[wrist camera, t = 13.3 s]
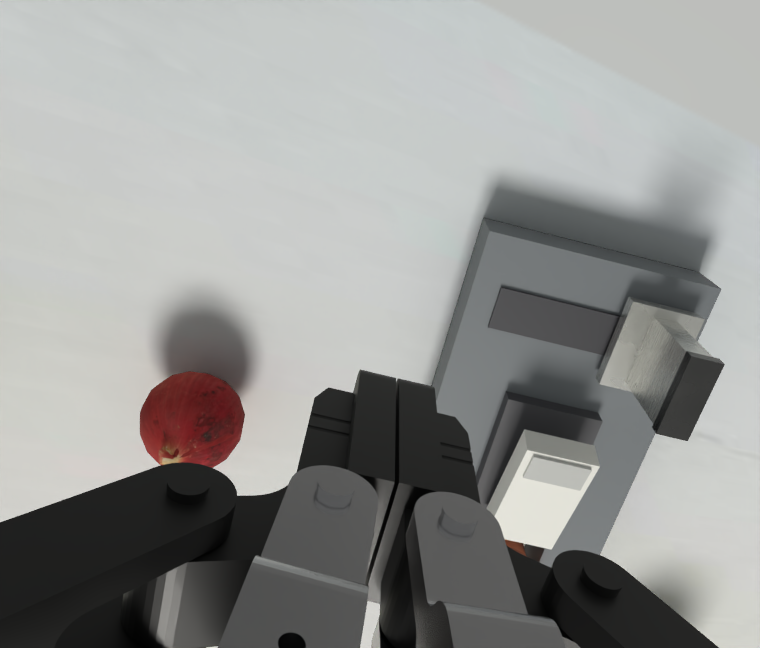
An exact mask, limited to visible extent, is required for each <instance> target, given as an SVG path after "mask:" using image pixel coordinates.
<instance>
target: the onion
mask: <svg viewBox="0 0 760 648" xmlns="http://www.w3.org/2000/svg"><path fill="white" fill-rule="evenodd" d="M244 417H245V414H244V410H243V407H242V404H241V401H240V397H239V396H238V394H237V393H236V392H235V391H234V390H233V389H232V388H231V387H230V386H229V385H228V384H227V383H226V382H225V381H223V380H221V379H219V378H217V377H214V376H212V375H210V374H206V373H199V372H191V371H189V372H184V373H180V374H175V375H172V376H170V377H169V378H167V379H166V380H164V381H163V382H161V383H160V384H159V385H157V386H156V387H155V388H154V389H152V390H151V392H150V393H149V395H148V397H147V399H146V401H145V402H144V404H143V406H142V409H141V412H140V435H141V438H142V440H143V443H144V445H145V448H146V450H147V452H148V453H149V454H150V455H151V456H152V457H153V458H154V459H155V460H156V461H157V462H158V463H159V464H160V465H165V464H170V463H180V462H185V463H195V464H201V465H205V466H208V467H211V468H213V467H214V466H216V465H218V464H220V463H221V462H223V461H224V460H226V459H227V457H228V456H229V455H230V453H231V452H232V451H233V449H234V448H235V447H236V445H237V444H238V442H239V441H240V438H241V433H242V428H243V423H244Z"/></svg>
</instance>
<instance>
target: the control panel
mask: <svg viewBox="0 0 760 648" xmlns="http://www.w3.org/2000/svg"><path fill="white" fill-rule="evenodd" d="M720 291H721V288H719V287H718V286H717V285H715V284H714V283H713V282H711V281H710V280H709V279H707V278H706V277H705V276H703V275H702V274H701V273H700V272H696V271H692V270H688V269H684V268H680V267H676V266H672V265H669V264H665V263H661V262H657V261H653V260H649V259H645V258H641V257H637V256H633V255H629V254H625V253H621V252H617V251H613V250H609V249H605V248H601V247H597V246H593V245H589V244H585V243H581V242H577V241H573V240H569V239H565V238H561V237H557V236H553V235H549V234H546V233H542V232H538V231H534V230H530V229H526V228H522V227H518V226H514V225H510V224H506V223H502V222H498V221H494V220H490V219H486V218H483V221H482V224H481V227H480V230H479V234H478V237H477V240H476V243H475V247H474V250H473V253H472V256H471V260H470V263H469V266H468V269H467V273H466V276H465V279H464V282H463V286H462V289H461V292H460V295H459V299H458V302H457V305H456V308H455V312H454V315H453V318H452V321H451V324H450V328H449V331H448V334H447V337H446V341H445V344H444V347H443V350H442V354H441V357H440V360H439V363H438V367H437V370H436V373H435V376H434V380H433V383H432V387H434V388H435V395H436V405H437V413H441V414H445V415H449V416H454V417H456V418H457V420H458V421H459V422H460V423H461V425H462V426H463V427H464V429H465V430H466V431H467V432H468V435H469V441H470V447H471V451H470V452H472V458H473V466H474V469H475V475H476V481H477V487H478V492H479V498H480V504H481V505H482V506H484V507H485V508H487V506H488V504H489V502H490V500H491V498H492V496H493V494H494V492H495V489H496V487H497V485H498V483H499V481H500V479H501V477H502V475H503V473H504V471H505V469H506V467H507V464H508V462H509V460H510V458H511V456H512V454H513V452H514V450H515V448H516V446H517V444H518V441H519V439H520V437H521V435H522V433H523V431H524V429H525V430H530V431H534V432H538V433H543V434H547V435H551V436H555V437H560V438H564V439H568V440H573V441H577V442H581V443H586V444H590V445H594V446H595V449H596V453H597V457H598V461H599V465H600V468H599V469H598V471H597V473H596V474H595V476H594V478H593V480H592V481H591V483H590V485H589V486H588V488H587V490H586V492H585V493H584V495H583V497H582V498H581V500H580V502H579V503H578V505H577V507H576V509H575V510H574V512H573V514H572V515H571V517H570V519H569V521H568V522H567V524H566V526H565V527H564V529H563V531H562V532H561V534H560V536H559V538H558V539H557V541H556V543H555V544H554V546H553V548H552V550H551V549H546V548H542V547H537V546H533V545H528V544H526V545H525V548H524V549H525V553H526V556H527V557H529V558H531V559H533V560H535V561H537V562H540V563H542V564H544V565H546V566H548V567H551V566H552V564H553V562H554V560H555V558H556V557H557V556H558V555H559V554H560V553H562V552H565V551H568V550H582V551H588V552H591V553H595V554H598V555H600V553H601V551H602V549H603V546H604V544H605V542H606V540H607V538H608V536H609V533H610V531H611V529H612V527H613V525H614V522H615V520H616V518H617V516H618V514H619V512H620V509H621V507H622V505H623V503H624V501H625V498H626V496H627V494H628V492H629V490H630V488H631V485H632V483H633V481H634V479H635V477H636V474H637V472H638V470H639V468H640V466H641V463H642V461H643V459H644V457H645V455H646V453H647V450H648V448H649V446H650V444H651V442H652V439H653V437H654V435H655V431H654V430H653V428H652V426H653V423H652V421H651V420H650V418H649V417H648V415H647V414H646V412H645V411H644V409H643V408H642V406H641V405H640V403H639V402H638V400H637V399H636V397H635V396H634V394H633V393H632V392H630V391H626V390H622V389H617V388H613V387H609V386H605V385H601V384H599V383H598V381H597V379H596V375H597V373H598V371H599V368H600V366H601V363H602V361H603V358H604V356H605V353H606V351H607V348H608V346H609V343H610V341H611V339H612V336H613V334H614V331H615V329H616V326H617V324H618V321H619V319H620V316H621V314H622V311H623V309H624V307H625V304H626V302H627V299H628V297H633V298H637V299H641V300H645V301H649V302H653V303H657V304H661V305H665V306H669V307H673V308H677V309H681V310H685V311H689V312H693V313H697V314H699V315H701V316H702V317H703V318H704V319H705V320H704V322H703V324H702V327H701V329H700V331H699V333H698V335H697V338H696V341H698V339H699V337H700V335H701V332H702V330H703V328H704V326H705V324H706V322H707V319H708V317H709V315H710V313H711V311H712V308H713V306H714V304H715V302H716V300H717V298H718V295H719V293H720ZM375 603H376V602H375Z"/></svg>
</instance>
